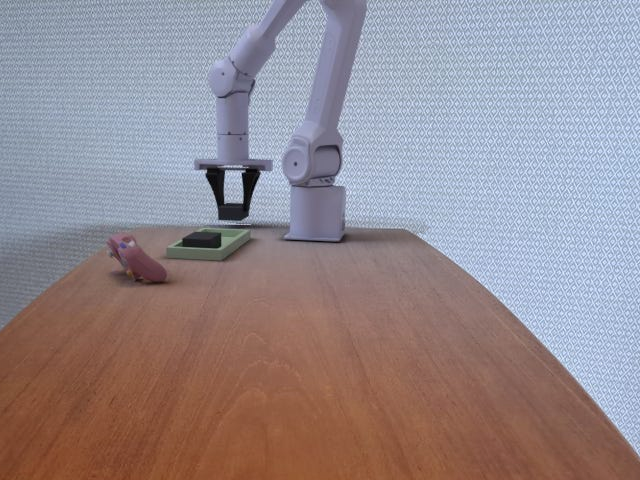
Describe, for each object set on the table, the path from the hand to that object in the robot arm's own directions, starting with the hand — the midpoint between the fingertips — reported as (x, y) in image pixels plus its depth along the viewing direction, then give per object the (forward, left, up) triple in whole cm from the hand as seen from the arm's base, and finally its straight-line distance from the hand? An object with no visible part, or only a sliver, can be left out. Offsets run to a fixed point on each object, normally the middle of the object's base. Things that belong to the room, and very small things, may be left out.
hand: (233, 210), depth 127 cm
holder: (-2, +21, -3) cm, 21 cm away
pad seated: (-2, +25, -3) cm, 26 cm away
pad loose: (0, 0, -1) cm, 1 cm away
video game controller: (+2, +42, -3) cm, 42 cm away
